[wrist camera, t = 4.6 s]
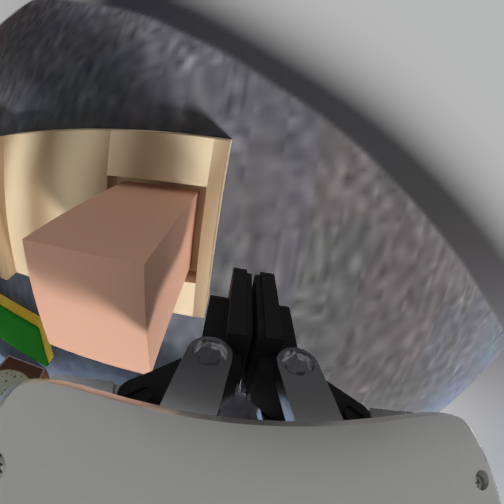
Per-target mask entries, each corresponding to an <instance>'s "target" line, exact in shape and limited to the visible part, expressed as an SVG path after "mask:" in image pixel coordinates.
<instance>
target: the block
mask: <svg viewBox="0 0 504 504" xmlns="http://www.w3.org/2000/svg"><path fill="white" fill-rule="evenodd" d="M199 192H200V190H194V189H187V188H180V187H173V186H165V185H157V184H149V183H140V182H131V181H123V182H121V183H119V184H117V185H115V186H113V187H111V188H109V189H107V190H105V191H103V192H101V193H99V194H97V195H95V196H93V197H92V198H90V199H88V200H86V201H84V202H82V203H81V204H79V205H77V206H75V207H73V208H72V209H70V210H68V211H66V212H65V213H63V214H61V215H60V216H58V217H56V218H55V219H53V220H51V221H50V222H48V223H46V224H45V225H43V226H42V227H40V228H38V229H37V230H35V231H34V232H32V233H31V234H29V235H28V236H26V237H25V238H23V239H22V241H23V247H24V253H25V258H26V263H27V268H28V273H29V277H30V282H31V286H32V290H33V294H34V297H35V301H36V305H37V308H38V311H39V315H40V318H41V321H42V324H43V327H44V330H45V333H46V336H47V338H48V341H49V344H51V345H54V346H56V347H59V348H61V349H64V350H67V351H69V352H72V353H75V354H78V355H81V356H83V357H86V358H89V359H92V360H96V361H99V362H102V363H105V364H108V365H112V366H115V367H119V368H122V369H126V370H130V371H134V372H138V373H142V374H146V373H148V372H150V371H153V368H154V365H155V362H156V359H157V356H158V353H159V350H160V347H161V344H162V341H163V338H164V335H165V333H166V330H167V327H168V324H169V321H170V319H171V316H172V313H173V310H174V308H175V305H176V302H177V300H178V297H179V294H180V292H181V289H182V287H183V284H184V281H185V279H186V276H187V274H188V271H189V269H190V266H191V263H192V253H193V243H194V233H195V225H196V216H197V208H198V200H199Z"/></svg>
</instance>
